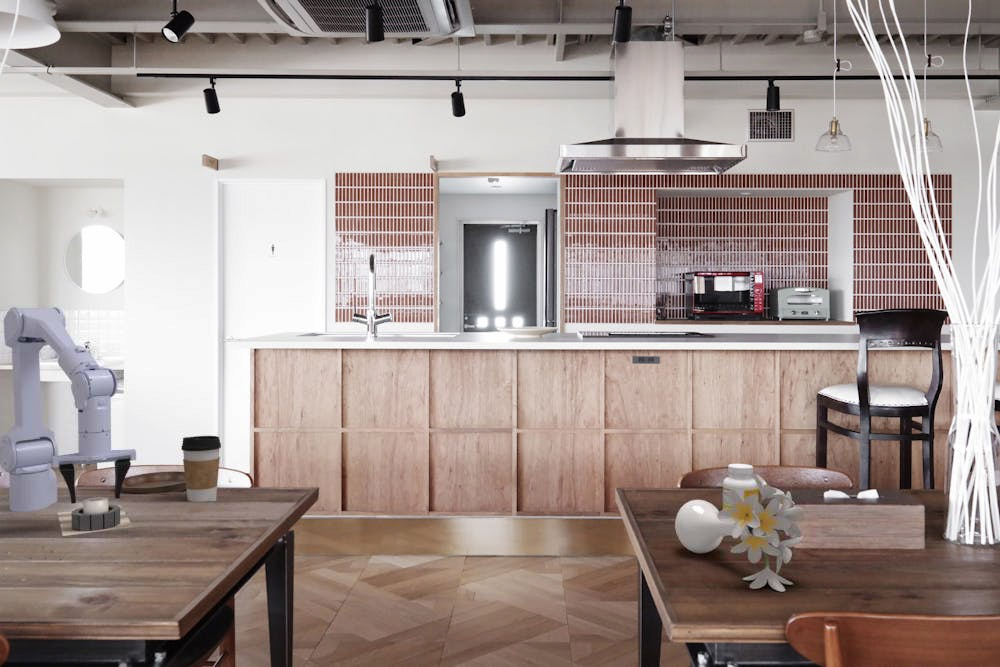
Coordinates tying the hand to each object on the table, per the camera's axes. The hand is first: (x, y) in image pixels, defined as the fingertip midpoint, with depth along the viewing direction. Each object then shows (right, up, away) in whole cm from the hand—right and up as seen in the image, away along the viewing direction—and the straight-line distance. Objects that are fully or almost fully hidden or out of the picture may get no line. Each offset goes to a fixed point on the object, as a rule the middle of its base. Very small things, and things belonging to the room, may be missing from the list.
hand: (95, 499), depth 154 cm
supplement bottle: (+126, -6, -1) cm, 127 cm away
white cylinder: (0, -5, 0) cm, 5 cm away
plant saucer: (-4, -6, +35) cm, 36 cm away
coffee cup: (+12, -6, +22) cm, 26 cm away
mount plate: (-3, -6, +4) cm, 8 cm away
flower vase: (+118, -7, -23) cm, 121 cm away
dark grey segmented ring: (0, -5, 0) cm, 5 cm away
